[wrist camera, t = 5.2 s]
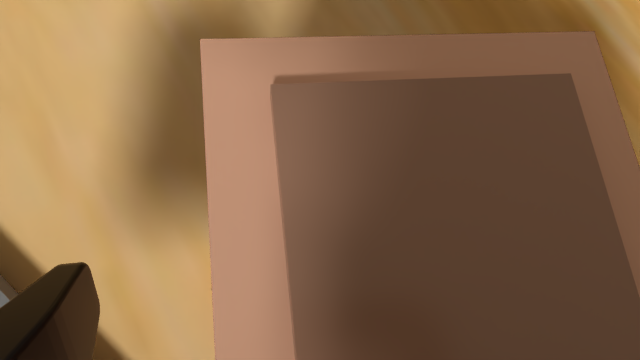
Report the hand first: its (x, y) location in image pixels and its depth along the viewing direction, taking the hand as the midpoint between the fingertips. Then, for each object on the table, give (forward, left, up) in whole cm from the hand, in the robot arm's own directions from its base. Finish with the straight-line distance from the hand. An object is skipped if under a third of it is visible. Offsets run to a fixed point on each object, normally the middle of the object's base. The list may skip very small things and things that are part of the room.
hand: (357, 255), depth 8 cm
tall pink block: (0, 0, -8) cm, 8 cm away
